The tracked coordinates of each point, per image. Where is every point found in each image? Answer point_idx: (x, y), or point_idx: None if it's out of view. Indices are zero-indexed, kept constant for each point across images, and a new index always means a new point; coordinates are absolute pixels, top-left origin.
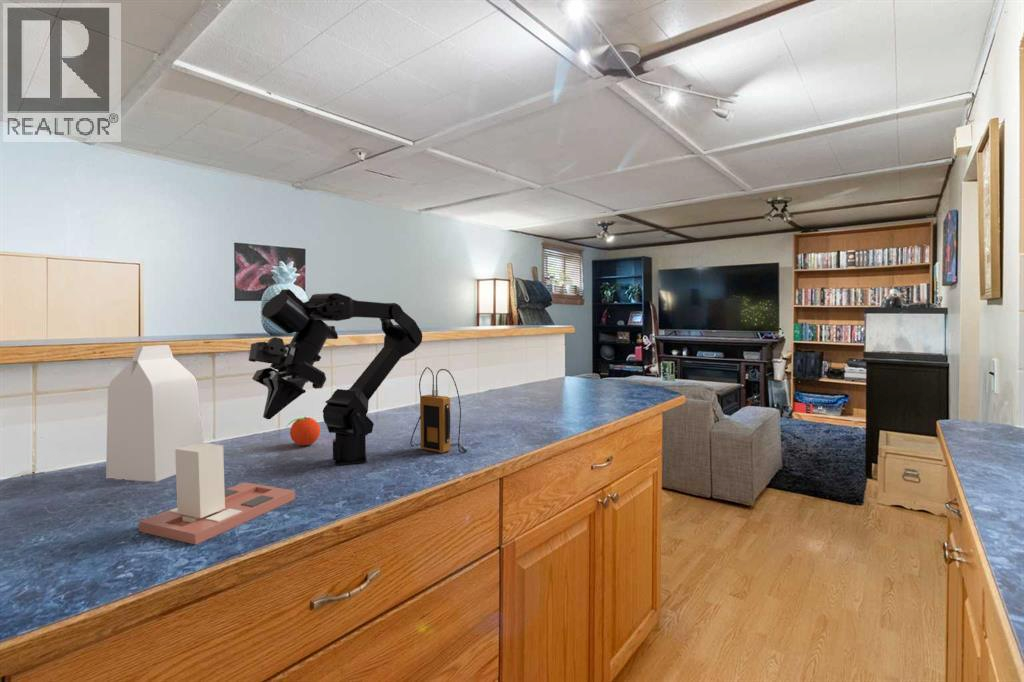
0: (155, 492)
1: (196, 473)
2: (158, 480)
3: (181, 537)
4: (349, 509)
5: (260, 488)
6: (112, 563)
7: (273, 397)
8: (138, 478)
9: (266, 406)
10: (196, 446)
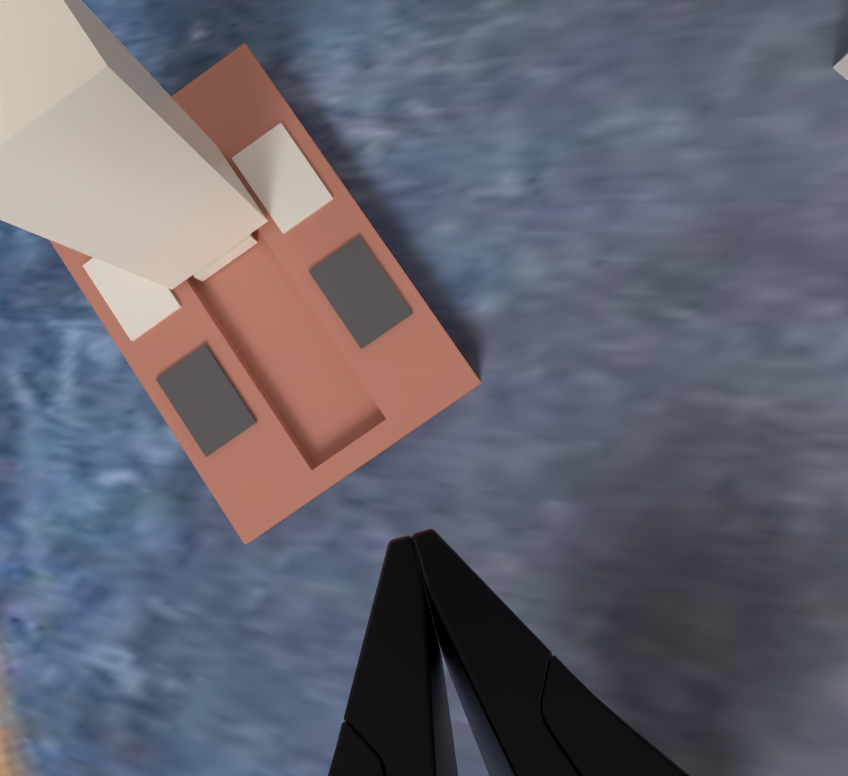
0: (666, 78)
1: None
2: (843, 75)
3: None
4: (46, 675)
5: (369, 431)
6: None
7: (341, 752)
8: None
9: (452, 603)
10: (7, 45)
